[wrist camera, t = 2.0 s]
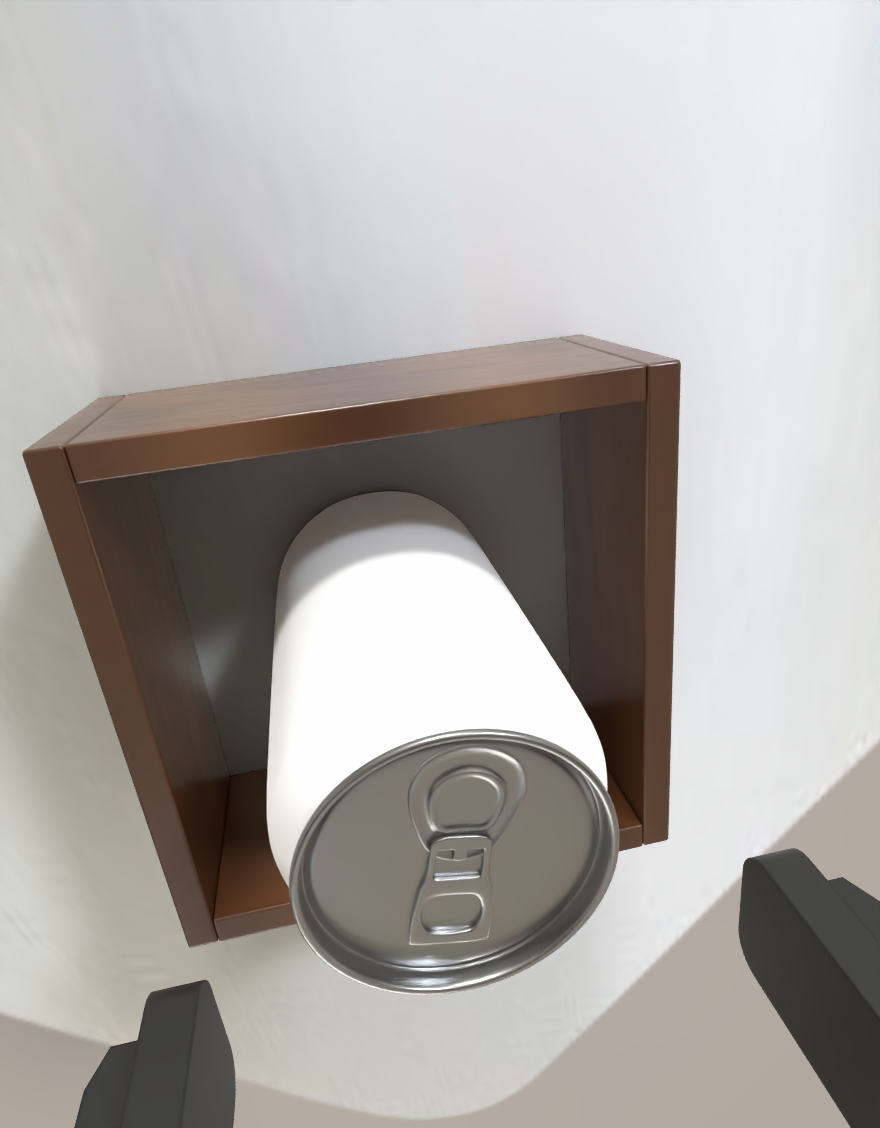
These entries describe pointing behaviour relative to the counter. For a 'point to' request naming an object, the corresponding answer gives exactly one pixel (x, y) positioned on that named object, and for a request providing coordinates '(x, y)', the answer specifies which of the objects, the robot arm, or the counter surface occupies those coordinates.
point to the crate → (340, 417)
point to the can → (426, 758)
